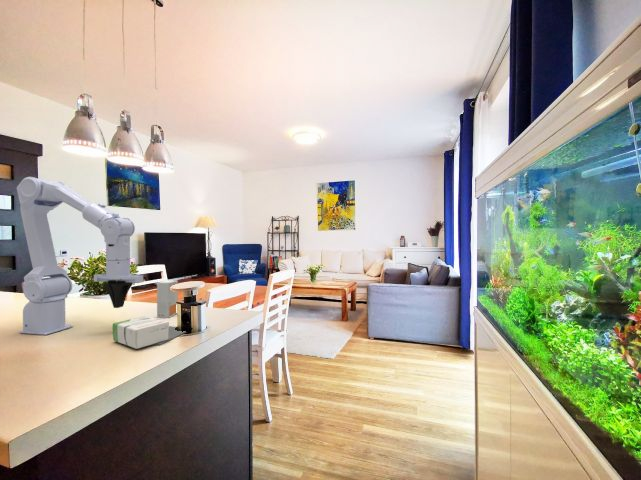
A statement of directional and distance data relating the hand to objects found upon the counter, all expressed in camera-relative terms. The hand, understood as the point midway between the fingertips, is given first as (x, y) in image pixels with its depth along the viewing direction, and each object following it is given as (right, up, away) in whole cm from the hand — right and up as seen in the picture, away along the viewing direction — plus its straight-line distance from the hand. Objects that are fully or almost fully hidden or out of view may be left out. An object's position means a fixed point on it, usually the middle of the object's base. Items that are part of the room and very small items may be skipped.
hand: (118, 307), depth 87 cm
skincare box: (+5, -7, +19) cm, 20 cm away
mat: (+13, -7, -2) cm, 15 cm away
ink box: (+6, -5, -4) cm, 9 cm away
